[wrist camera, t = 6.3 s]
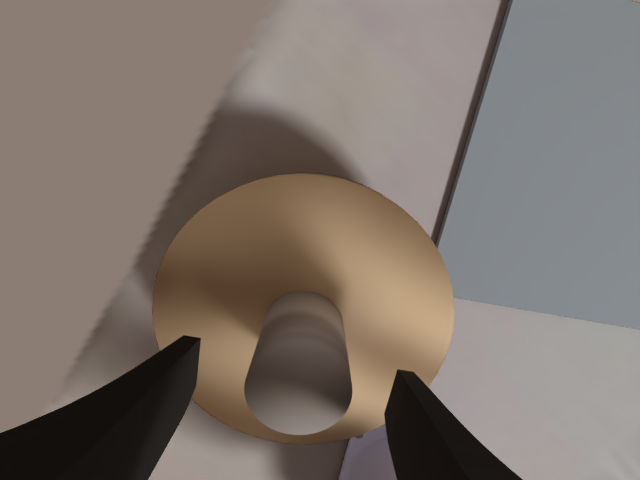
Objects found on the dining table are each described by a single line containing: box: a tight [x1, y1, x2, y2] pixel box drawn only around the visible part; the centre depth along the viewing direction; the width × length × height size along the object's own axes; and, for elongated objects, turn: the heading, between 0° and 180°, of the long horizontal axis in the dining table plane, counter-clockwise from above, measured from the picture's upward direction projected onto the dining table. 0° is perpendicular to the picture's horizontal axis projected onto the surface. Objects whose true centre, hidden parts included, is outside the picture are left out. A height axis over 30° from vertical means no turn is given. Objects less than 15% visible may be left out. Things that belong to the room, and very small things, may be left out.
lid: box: [152, 173, 455, 444], centre depth 13 cm, size 14×14×5 cm
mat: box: [435, 0, 640, 330], centre depth 17 cm, size 16×16×1 cm
